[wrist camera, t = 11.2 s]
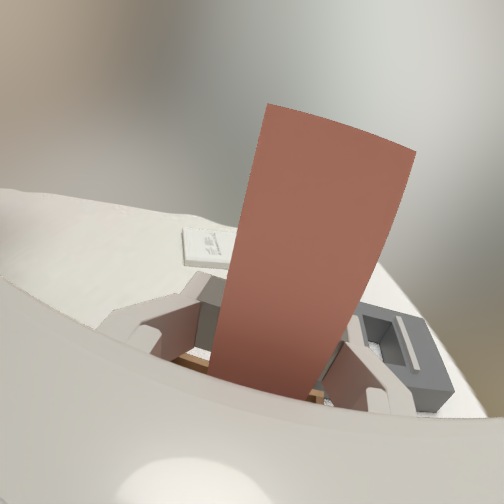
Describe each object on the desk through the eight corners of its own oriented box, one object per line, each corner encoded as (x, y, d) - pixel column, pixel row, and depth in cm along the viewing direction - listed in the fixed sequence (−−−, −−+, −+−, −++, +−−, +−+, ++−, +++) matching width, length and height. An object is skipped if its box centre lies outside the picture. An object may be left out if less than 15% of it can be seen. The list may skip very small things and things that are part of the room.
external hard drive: (293, 278, 34) (183, 270, 30) (272, 246, 41) (181, 236, 37) (297, 266, 33) (185, 257, 29) (275, 235, 40) (182, 224, 36)
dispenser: (300, 393, 18) (316, 364, 17) (305, 311, 27) (315, 285, 26) (436, 412, 17) (457, 388, 16) (411, 338, 26) (425, 315, 25)
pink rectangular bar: (187, 475, 10) (266, 103, 4) (214, 399, 15) (286, 118, 9) (241, 490, 10) (416, 151, 4) (258, 412, 14) (361, 140, 8)
